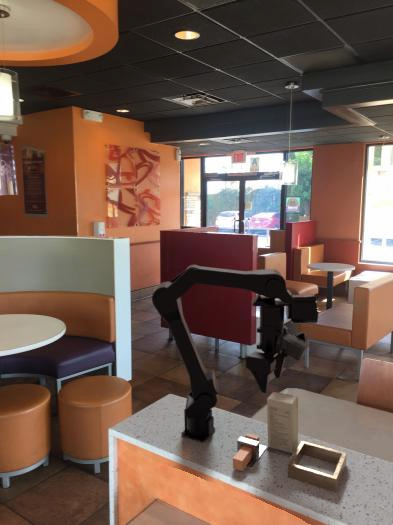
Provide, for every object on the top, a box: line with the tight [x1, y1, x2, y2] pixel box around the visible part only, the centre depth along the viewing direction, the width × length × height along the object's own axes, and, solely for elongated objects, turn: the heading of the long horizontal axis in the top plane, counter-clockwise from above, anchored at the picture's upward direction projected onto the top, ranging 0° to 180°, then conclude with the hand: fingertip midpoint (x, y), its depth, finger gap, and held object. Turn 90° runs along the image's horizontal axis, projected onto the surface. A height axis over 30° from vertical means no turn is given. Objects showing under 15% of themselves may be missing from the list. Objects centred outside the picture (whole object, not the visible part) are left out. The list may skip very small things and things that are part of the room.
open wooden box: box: [286, 440, 348, 493], centre depth 95 cm, size 10×10×3 cm
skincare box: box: [266, 391, 299, 454], centre depth 103 cm, size 6×4×12 cm
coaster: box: [266, 446, 293, 458], centre depth 105 cm, size 6×6×1 cm
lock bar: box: [232, 432, 260, 472], centre depth 99 cm, size 3×9×4 cm, turn 150°
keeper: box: [236, 436, 268, 469], centre depth 102 cm, size 5×9×4 cm, turn 150°
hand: (271, 384), depth 108 cm, fingers open, 9 cm apart
